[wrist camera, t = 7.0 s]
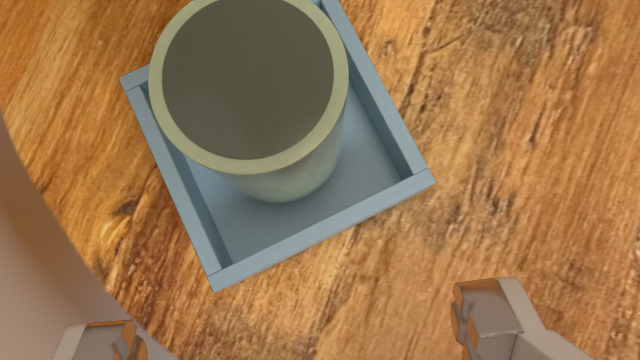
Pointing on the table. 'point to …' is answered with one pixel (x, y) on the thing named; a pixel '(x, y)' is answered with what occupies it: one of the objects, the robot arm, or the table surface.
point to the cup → (254, 94)
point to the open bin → (306, 215)
